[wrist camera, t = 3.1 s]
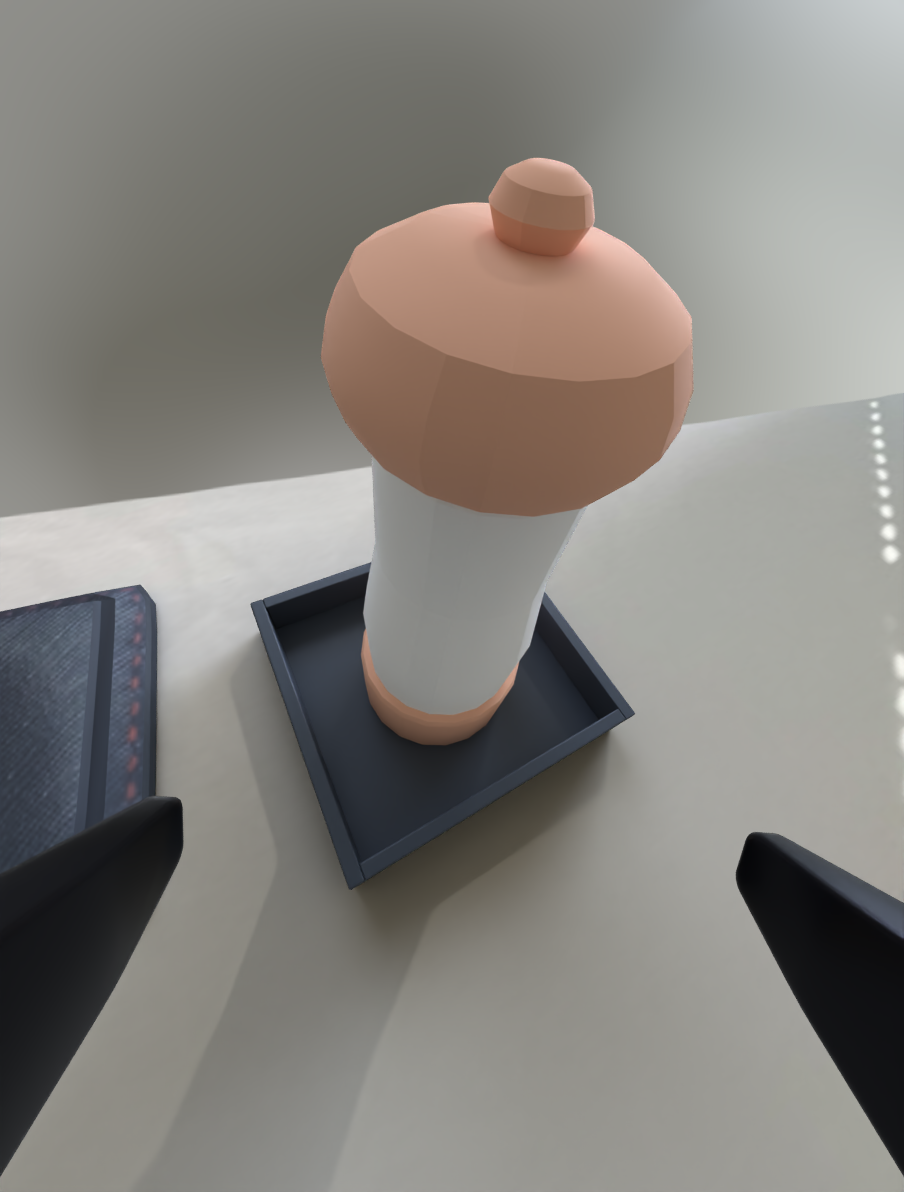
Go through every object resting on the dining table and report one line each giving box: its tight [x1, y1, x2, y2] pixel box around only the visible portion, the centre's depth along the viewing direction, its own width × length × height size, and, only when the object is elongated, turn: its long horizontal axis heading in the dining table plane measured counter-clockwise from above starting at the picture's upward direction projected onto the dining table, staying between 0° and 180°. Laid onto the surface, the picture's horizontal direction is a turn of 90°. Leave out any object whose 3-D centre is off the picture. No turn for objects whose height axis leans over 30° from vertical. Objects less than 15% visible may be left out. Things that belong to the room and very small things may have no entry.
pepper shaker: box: [321, 158, 693, 745], centre depth 14 cm, size 7×7×19 cm
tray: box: [251, 563, 635, 890], centre depth 21 cm, size 14×13×3 cm
